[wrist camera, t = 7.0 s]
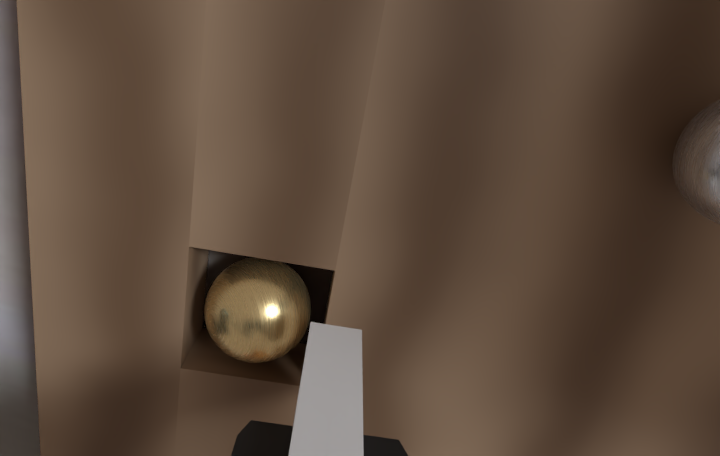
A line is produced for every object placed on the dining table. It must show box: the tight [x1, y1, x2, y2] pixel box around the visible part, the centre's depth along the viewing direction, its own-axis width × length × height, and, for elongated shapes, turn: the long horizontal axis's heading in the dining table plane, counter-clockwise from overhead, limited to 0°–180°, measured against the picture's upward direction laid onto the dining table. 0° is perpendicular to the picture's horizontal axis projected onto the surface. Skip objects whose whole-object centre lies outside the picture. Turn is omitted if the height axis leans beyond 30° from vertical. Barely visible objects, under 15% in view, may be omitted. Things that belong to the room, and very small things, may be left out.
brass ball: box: [204, 257, 311, 363], centre depth 17 cm, size 4×4×4 cm
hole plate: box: [16, 0, 720, 456], centre depth 18 cm, size 26×24×2 cm
